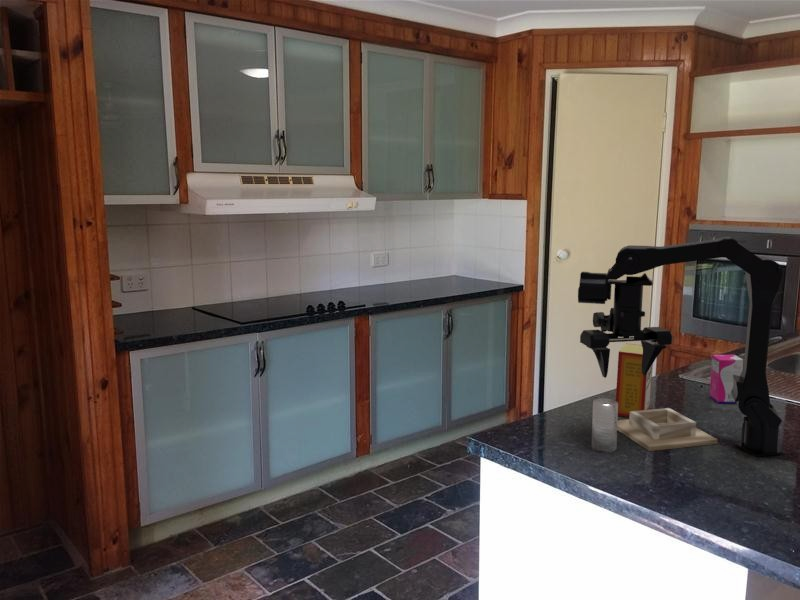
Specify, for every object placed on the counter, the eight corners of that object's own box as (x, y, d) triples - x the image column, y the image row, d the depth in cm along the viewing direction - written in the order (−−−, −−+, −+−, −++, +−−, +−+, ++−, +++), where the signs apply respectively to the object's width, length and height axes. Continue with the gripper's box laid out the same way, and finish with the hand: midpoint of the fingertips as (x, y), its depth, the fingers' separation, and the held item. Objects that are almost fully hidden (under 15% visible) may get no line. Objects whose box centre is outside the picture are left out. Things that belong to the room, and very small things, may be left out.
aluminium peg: (621, 451, 138) (622, 404, 136) (598, 453, 137) (600, 406, 135) (608, 442, 142) (610, 397, 141) (587, 444, 141) (588, 399, 140)
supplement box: (732, 396, 171) (734, 353, 169) (741, 404, 165) (744, 359, 164) (708, 396, 172) (711, 353, 170) (717, 403, 166) (720, 359, 164)
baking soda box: (622, 403, 167) (626, 342, 164) (649, 407, 164) (654, 345, 161) (614, 414, 159) (618, 350, 156) (643, 419, 156) (647, 353, 153)
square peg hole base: (717, 443, 140) (718, 425, 140) (649, 451, 137) (649, 432, 137) (672, 419, 156) (672, 402, 155) (609, 425, 153) (610, 408, 152)
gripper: (648, 297, 150) (644, 364, 153) (570, 300, 147) (568, 368, 150) (676, 306, 140) (671, 377, 142) (593, 309, 136) (590, 382, 139)
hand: (624, 375), depth 144 cm, fingers open, 9 cm apart
